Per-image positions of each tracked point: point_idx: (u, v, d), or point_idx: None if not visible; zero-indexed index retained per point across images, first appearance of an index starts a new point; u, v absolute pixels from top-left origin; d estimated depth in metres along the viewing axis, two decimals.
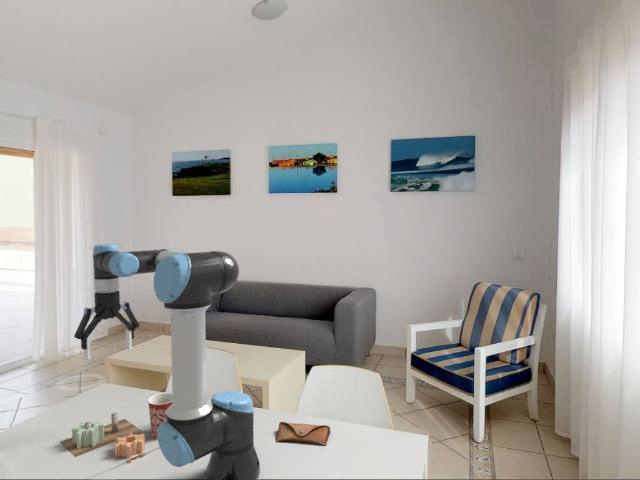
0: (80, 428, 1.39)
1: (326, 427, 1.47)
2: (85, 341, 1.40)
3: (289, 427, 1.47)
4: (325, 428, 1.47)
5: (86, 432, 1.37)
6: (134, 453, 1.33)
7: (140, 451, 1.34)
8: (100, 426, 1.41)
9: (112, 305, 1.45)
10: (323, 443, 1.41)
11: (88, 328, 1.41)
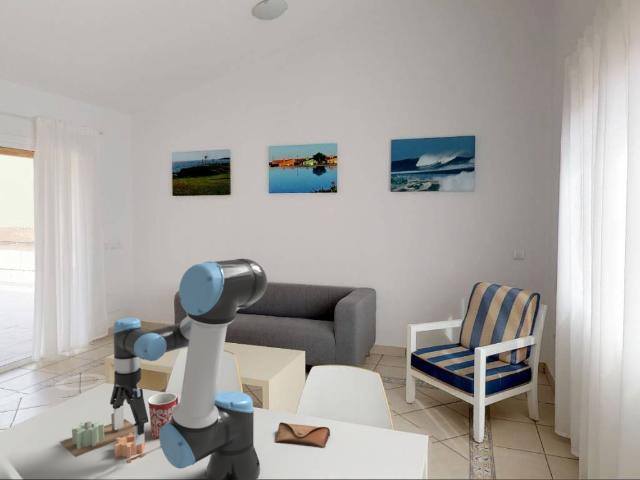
0: (80, 428, 1.39)
1: (326, 429, 1.46)
2: None
3: (289, 428, 1.47)
4: (325, 430, 1.45)
5: (86, 432, 1.37)
6: (134, 453, 1.33)
7: (140, 451, 1.34)
8: (100, 426, 1.41)
9: (126, 386, 1.32)
10: (322, 445, 1.40)
11: None
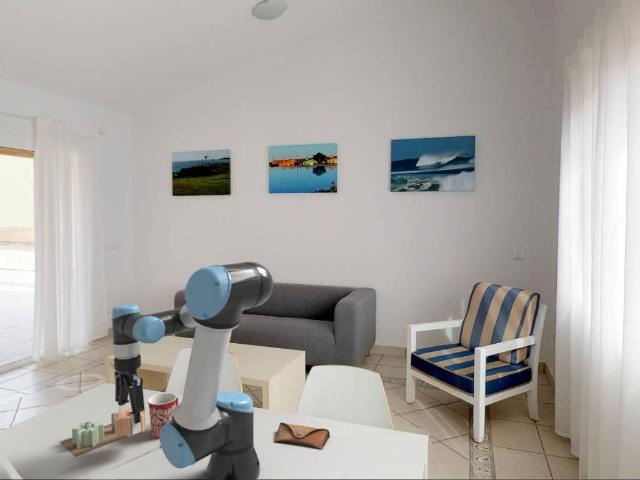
0: (80, 428, 1.39)
1: (325, 430, 1.45)
2: None
3: (288, 428, 1.46)
4: (324, 431, 1.44)
5: (86, 432, 1.37)
6: None
7: None
8: (100, 426, 1.41)
9: (126, 371, 1.32)
10: (320, 446, 1.39)
11: None
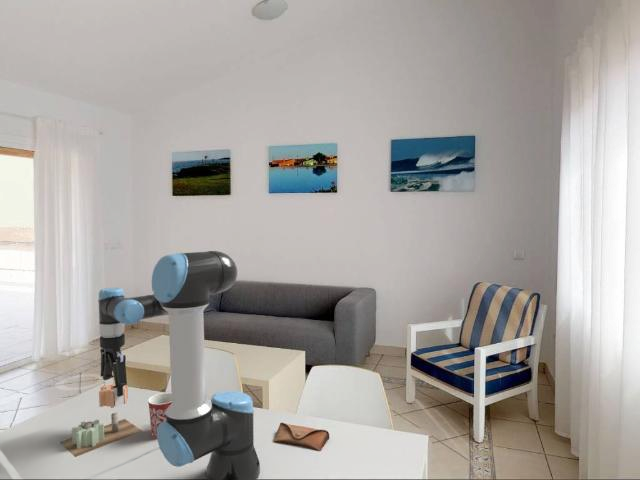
0: (80, 428, 1.39)
1: (324, 432, 1.44)
2: None
3: (288, 428, 1.46)
4: (323, 433, 1.43)
5: (86, 432, 1.37)
6: None
7: None
8: (100, 426, 1.41)
9: (111, 349, 1.43)
10: (318, 448, 1.38)
11: None
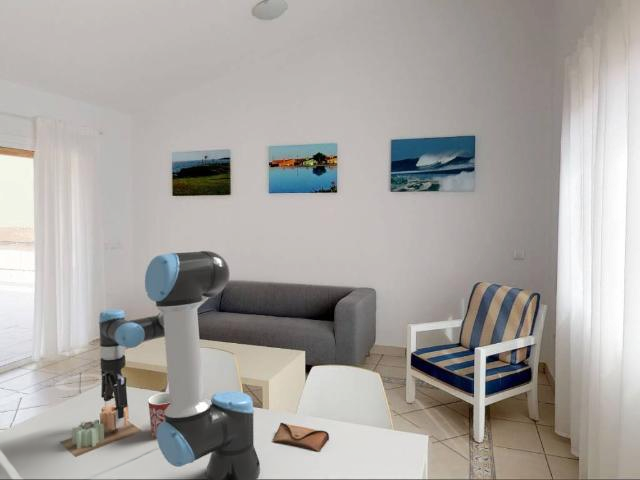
0: (80, 428, 1.39)
1: (324, 433, 1.43)
2: None
3: (287, 429, 1.46)
4: (323, 434, 1.43)
5: (86, 432, 1.37)
6: None
7: None
8: (100, 426, 1.41)
9: (112, 371, 1.44)
10: (317, 448, 1.38)
11: None
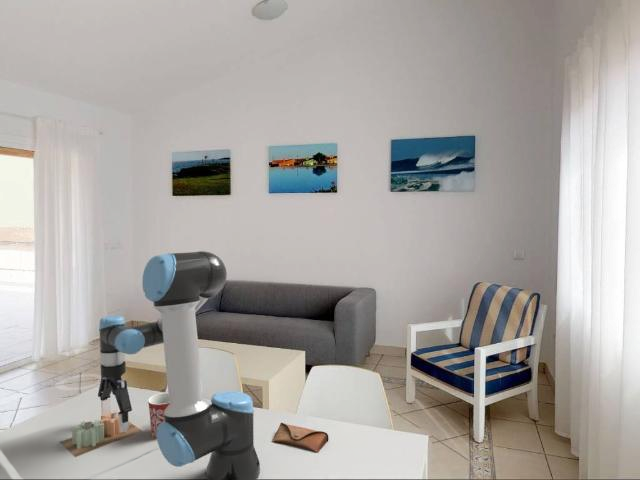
0: (80, 428, 1.39)
1: (323, 433, 1.43)
2: None
3: (287, 429, 1.46)
4: (322, 434, 1.42)
5: (86, 432, 1.37)
6: (117, 428, 1.45)
7: None
8: (100, 426, 1.41)
9: (111, 378, 1.44)
10: (315, 449, 1.37)
11: None
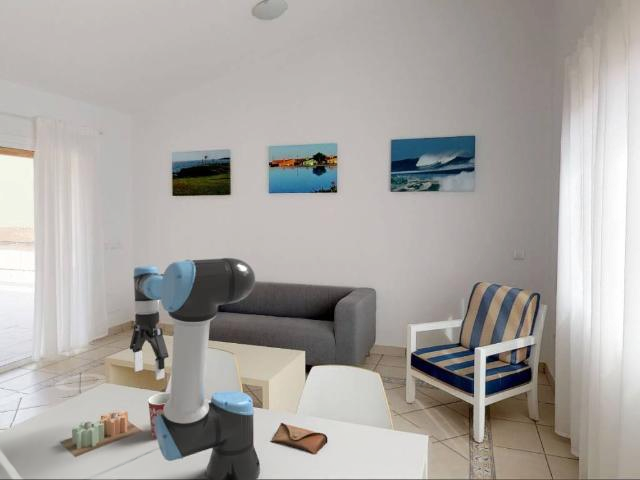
0: (80, 428, 1.39)
1: (322, 435, 1.42)
2: None
3: (287, 429, 1.46)
4: (321, 436, 1.41)
5: (86, 432, 1.37)
6: (117, 428, 1.45)
7: (123, 426, 1.46)
8: (100, 426, 1.41)
9: (146, 327, 1.45)
10: (313, 451, 1.36)
11: None
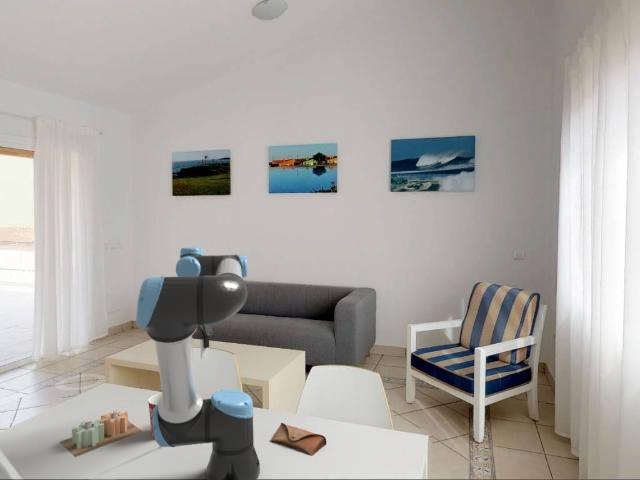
0: (80, 428, 1.39)
1: (321, 437, 1.41)
2: None
3: (286, 429, 1.46)
4: (320, 438, 1.40)
5: (86, 432, 1.37)
6: (117, 428, 1.45)
7: (123, 426, 1.46)
8: (100, 426, 1.41)
9: None
10: (310, 452, 1.36)
11: None
